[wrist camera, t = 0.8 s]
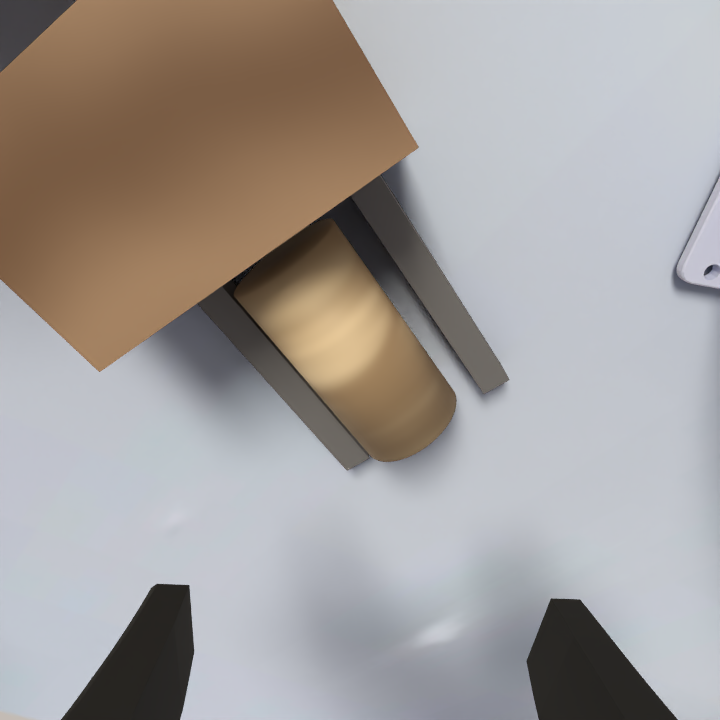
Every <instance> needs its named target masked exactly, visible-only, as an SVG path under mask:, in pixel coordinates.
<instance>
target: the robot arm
mask: <svg viewBox="0 0 720 720" xmlns="http://www.w3.org/2000/svg"><path fill="white" fill-rule="evenodd" d="M710 265H713V268H712V270H711V272H710V273H709V274H707V275H705V276H704V271H705V270H706V268H707V267H708V266H710ZM676 270H677V275H678V276H679V278H680V279H682V280H684V281H685V282H688V283H690V284H695V285H701V286H706V287H712V288H717V289H720V177H719V179H718V181H717V183H716V186H715V188H714V190H713V192H712V194H711V196H710V198H709V200H708V202H707V204H706V206H705V208H704V210H703V212H702V215H701V217H700V219H699V221H698V223H697V225H696V227H695V229H694V231H693V233H692V235H691V237H690V239H689V242H688V244H687V246H686V248H685V250H684V252H683V254H682V256H681V258H680V260H679V262H678V265H677V269H676ZM193 655H194V643H193V630H192V616H191V603H190V589H189V585H172V584H156V585H155V586H153V587H152V588H151V589H150V591H149V593H148V595H147V596H146V598H145V600H144V601H143V603H142V605H141V606H140V608H139V609H138V611H137V613H136V614H135V616H134V617H133V619H132V621H131V622H130V624H129V625H128V627H127V628H126V630H125V631H124V633H123V634H122V636H121V637H120V639H119V640H118V642H117V643H116V645H115V646H114V648H113V649H112V651H111V652H110V654H109V655H108V657H107V658H106V659H105V661H104V662H103V664H102V665H101V666H100V668H99V669H98V671H97V672H96V673H95V675H94V676H93V677H92V679H91V680H90V682H89V683H88V684H87V686H86V687H85V689H84V690H83V691H82V693H81V694H80V696H79V697H78V698H77V700H76V701H75V702H74V704H73V705H72V706H71V708H70V709H69V710H68V711H67V713H66V714H65V715H64V717H63V718H62V719H61V720H180V718H181V714H182V711H183V706H184V701H185V696H186V691H187V686H188V681H189V676H190V671H191V666H192V660H193ZM527 666H528V671H529V676H530V681H531V686H532V691H533V696H534V700H535V704H536V709H537V713H538V718H539V720H677V718H676V717H675V716H674V715H673V714H672V712H671V711H670V710H669V709H668V708H667V707H666V705H665V704H664V703H663V702H662V701H661V699H660V698H659V697H658V696H657V695H656V693H655V692H654V691H653V690H652V689H651V687H650V686H649V685H648V684H647V683H646V681H645V680H644V679H643V678H642V676H641V675H640V674H639V673H638V672H637V670H636V669H635V668H634V667H633V665H632V664H631V663H630V662H629V660H628V659H627V658H626V657H625V655H624V654H623V653H622V652H621V650H620V649H619V648H618V647H617V645H616V644H615V643H614V642H613V640H612V639H611V638H610V636H609V635H608V634H607V633H606V631H605V630H604V629H603V628H602V626H601V625H600V624H599V623H598V621H597V620H596V619H595V618H594V616H593V615H592V614H591V612H590V611H589V610H588V609H587V608H586V606H585V605H584V604H583V603H582V601H581V600H577V599H551V600H550V602H549V605H548V608H547V610H546V613H545V615H544V618H543V620H542V623H541V625H540V628H539V631H538V633H537V636H536V638H535V641H534V643H533V646H532V649H531V651H530V654H529V656H528V659H527Z"/></svg>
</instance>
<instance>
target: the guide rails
mask: <svg viewBox="0 0 720 720" xmlns="http://www.w3.org/2000/svg"><path fill="white" fill-rule="evenodd" d="M351 197H352V199H353V200H354V202H355V203H356V205H357V206H358V208H359V209H360V211H361V212H362V214H363V215H364V217H365V218H366V220H367V221H368V223H369V224H370V226H371V227H372V229H373V230H374V232H375V233H376V234H377V236H378V237H379V239H380V240H381V242H382V243H383V245H384V246H385V248H386V249H387V251H388V252H389V254H390V255H391V257H392V258H393V260H394V261H395V263H396V264H397V266H398V267H399V269H400V270H401V272H402V273H403V275H404V276H405V278H406V279H407V281H408V282H409V284H410V285H411V287H412V288H413V289H414V291H415V292H416V294H417V295H418V297H419V298H420V300H421V301H422V303H423V304H424V306H425V307H426V309H427V310H428V312H429V313H430V315H431V316H432V318H433V319H434V321H435V322H436V324H437V325H438V327H439V328H440V330H441V331H442V333H443V334H444V336H445V337H446V339H447V340H448V342H449V343H450V344H451V346H452V347H453V349H454V350H455V352H456V353H457V355H458V356H459V358H460V359H461V361H462V362H463V364H464V365H465V367H466V368H467V370H468V371H469V373H470V374H471V376H472V377H473V379H474V380H475V382H476V383H477V385H478V386H479V388H480V389H481V391H482V392H483V394H485V393H487V392H489V391H490V390H492V389H494V388H496V387H498V386H499V385H501V384H503V383H505V382H507V381H508V380H509V378H508V376H507V374H506V372H505V371H504V369H503V367H502V365H501V364H500V362H499V361H498V359H497V357H496V356H495V354H494V353H493V351H492V349H491V348H490V346H489V345H488V343H487V342H486V340H485V338H484V337H483V335H482V334H481V332H480V331H479V329H478V327H477V326H476V324H475V323H474V321H473V319H472V318H471V316H470V315H469V313H468V312H467V310H466V308H465V307H464V305H463V304H462V302H461V301H460V299H459V297H458V296H457V294H456V293H455V291H454V289H453V288H452V286H451V285H450V283H449V282H448V280H447V278H446V277H445V275H444V274H443V272H442V271H441V269H440V267H439V266H438V264H437V263H436V261H435V260H434V258H433V256H432V255H431V253H430V252H429V250H428V248H427V247H426V245H425V244H424V242H423V241H422V239H421V237H420V236H419V234H418V233H417V231H416V230H415V228H414V226H413V225H412V223H411V222H410V220H409V218H408V217H407V215H406V214H405V212H404V211H403V209H402V207H401V206H400V204H399V203H398V201H397V200H396V198H395V196H394V195H393V193H392V192H391V190H390V188H389V187H388V185H387V184H386V182H385V181H384V179H383V177H382V176H381V174H380V175H379V176H378V177H376V178H375V179H373V180H372V181H370V182H369V183H368V184H366V185H365V186H363V187H362V188H361V189H359V190H358V191H356V192H355V193H353V194H352V195H351ZM236 287H237V286H236V285H235V284H234V282H233V281H232V280H230V281H228V282H227V283H225V284H224V285H223V286H221V287H220V288H218V289H217V290H216V291H214V292H213V293H211V294H210V295H208V296H207V297H206V298H204V299H203V300H201V301H200V302H198V303H197V304H198V305H199V306H200V307H201V308H202V309H203V311H204V312H205V313H206V314H207V315H208V316H209V317H210V318H211V320H212V321H213V322H214V323H215V324H216V325H217V326H218V327H219V328H220V330H221V331H222V332H223V333H224V334H225V335H226V336H227V337H228V338H229V340H230V341H231V342H232V343H233V344H234V345H235V346H236V347H237V349H238V350H239V351H240V352H241V353H242V354H243V355H244V356H245V357H246V359H247V360H248V361H249V362H250V363H251V364H252V365H253V366H254V367H255V369H256V370H257V371H258V372H259V373H260V374H261V375H262V376H263V378H264V379H265V380H266V381H267V382H268V383H269V384H270V385H271V386H272V388H273V389H274V390H275V391H276V392H277V393H278V394H279V395H280V396H281V398H282V399H283V400H284V401H285V402H286V403H287V404H288V405H289V407H290V408H291V409H292V410H293V411H294V412H295V413H296V414H297V415H298V417H299V418H300V419H301V420H302V421H303V422H304V423H305V424H306V425H307V427H308V428H309V429H310V430H311V431H312V432H313V433H314V434H315V436H316V437H317V438H318V439H319V440H320V441H321V442H322V443H323V444H324V446H325V447H326V448H327V449H328V450H329V451H330V452H331V453H332V454H333V456H334V457H335V458H336V459H337V460H338V461H339V462H340V463H341V465H342V466H343V467H344V468H345V469H346V470H349V469H351V468H353V467H354V466H356V465H358V464H360V463H362V462H363V461H365V460H367V459H369V454H368V452H367V451H366V450H365V449H364V448H363V447H362V445H361V444H360V443H359V442H358V441H357V440H356V438H355V437H354V436H353V435H352V434H351V433H350V431H349V430H348V429H347V428H346V427H345V425H344V424H343V423H342V422H341V421H340V420H339V418H338V417H337V416H336V415H335V414H334V413H333V411H332V410H331V409H330V408H329V407H328V406H327V404H326V403H325V402H324V401H323V400H322V399H321V397H320V396H319V395H318V394H317V393H316V392H315V390H314V389H313V388H312V387H311V386H310V385H309V383H308V382H307V381H306V380H305V379H304V377H303V376H302V375H301V374H300V373H299V372H298V370H297V369H296V368H295V367H294V366H293V365H292V363H291V362H290V361H289V360H288V359H287V358H286V356H285V355H284V354H283V353H282V352H281V351H280V349H279V348H278V347H277V346H276V345H275V344H274V342H273V341H272V340H271V339H270V338H269V336H268V335H267V334H266V333H265V332H264V331H263V329H262V328H261V327H260V326H259V325H258V324H257V322H256V321H255V320H254V319H253V318H252V317H251V315H250V314H249V313H248V312H247V311H246V310H245V308H244V307H243V306H242V305H241V304H240V303H239V301H238V300H237V299H236V298H235V297H234V291H235V289H236Z"/></svg>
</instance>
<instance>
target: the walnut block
mask: <svg viewBox="0 0 720 720" xmlns="http://www.w3.org/2000/svg"><path fill="white" fill-rule="evenodd" d="M417 148H419V147H418V145H417V144H416V142H415V140H414V138H413V137H412V135H411V133H410V132H409V130H408V128H407V126H406V125H405V123H404V121H403V120H402V118H401V116H400V115H399V113H398V111H397V109H396V108H395V106H394V104H393V103H392V101H391V99H390V97H389V96H388V94H387V92H386V91H385V89H384V87H383V86H382V84H381V82H380V80H379V79H378V77H377V75H376V74H375V72H374V70H373V68H372V67H371V65H370V63H369V62H368V60H367V58H366V57H365V55H364V53H363V51H362V50H361V48H360V46H359V45H358V43H357V41H356V39H355V38H354V36H353V34H352V33H351V31H350V29H349V28H348V26H347V24H346V22H345V21H344V19H343V17H342V16H341V14H340V12H339V10H338V9H337V7H336V5H335V4H334V2H333V0H77V1H76V2H75V3H74V4H73V5H71V6H70V7H69V8H68V9H67V10H66V11H65V12H64V13H63V14H62V15H61V16H60V17H59V18H58V19H57V20H56V21H54V22H53V23H52V24H51V25H50V26H49V27H48V28H47V29H46V30H45V31H44V32H43V33H42V34H41V35H40V36H39V37H38V38H36V39H35V40H34V41H33V42H32V43H31V44H30V45H29V46H28V47H27V48H26V49H25V50H24V51H23V52H22V53H21V54H19V55H18V56H17V57H16V58H15V59H14V60H13V61H12V62H11V63H10V64H9V65H8V66H7V67H6V68H5V69H4V70H3V71H1V72H0V279H1V280H2V281H3V282H4V283H5V284H6V285H7V286H8V287H9V288H10V289H11V290H13V291H14V292H15V293H16V294H17V295H18V296H19V297H20V298H21V299H22V300H23V301H24V302H25V303H26V304H27V305H29V306H30V307H31V308H32V309H33V310H34V311H35V312H36V313H37V314H38V315H39V316H40V317H41V318H42V319H43V320H45V321H46V322H47V323H48V324H49V325H50V326H51V327H52V328H53V329H54V330H55V331H56V332H57V333H58V334H59V335H61V336H62V337H63V338H64V339H65V340H66V341H67V342H68V343H69V344H70V345H71V346H72V347H73V348H74V349H75V350H76V351H78V352H79V353H80V354H81V355H82V356H83V357H84V358H85V359H86V360H87V361H88V362H89V363H90V364H91V365H92V366H94V367H95V368H96V369H97V370H98V371H99V372H100V371H102V370H103V369H105V368H106V367H107V366H109V365H110V364H112V363H113V362H115V361H116V360H117V359H119V358H120V357H122V356H123V355H125V354H126V353H127V352H129V351H130V350H132V349H133V348H134V347H136V346H137V345H139V344H140V343H142V342H143V341H144V340H146V339H147V338H149V337H150V336H152V335H153V334H154V333H156V332H157V331H159V330H160V329H161V328H163V327H164V326H166V325H167V324H169V323H170V322H171V321H173V320H174V319H176V318H177V317H179V316H180V315H181V314H183V313H184V312H186V311H187V310H188V309H190V308H191V307H193V306H194V305H196V304H197V303H198V302H200V301H201V300H203V299H204V298H206V297H207V296H208V295H210V294H211V293H213V292H214V291H216V290H217V289H218V288H220V287H221V286H223V285H224V284H225V283H227V282H228V281H230V280H231V279H233V278H234V277H235V276H237V275H238V274H240V273H241V272H243V271H244V270H245V269H247V268H248V267H250V266H251V265H252V264H254V263H255V262H257V261H258V260H260V259H261V258H262V257H264V256H265V255H267V254H268V253H270V252H271V251H272V250H274V249H275V248H277V247H278V246H279V245H281V244H282V243H284V242H285V241H287V240H288V239H289V238H291V237H292V236H294V235H295V234H297V233H298V232H299V231H301V230H302V229H304V228H305V227H306V226H308V225H309V224H311V223H312V222H314V221H315V220H316V219H318V218H319V217H321V216H322V215H324V214H325V213H326V212H328V211H329V210H331V209H332V208H334V207H335V206H336V205H338V204H339V203H341V202H342V201H343V200H345V199H346V198H348V197H349V196H351V195H352V194H353V193H355V192H356V191H358V190H359V189H361V188H362V187H363V186H365V185H366V184H368V183H369V182H370V181H372V180H373V179H375V178H376V177H378V176H379V175H380V174H382V173H383V172H385V171H386V170H388V169H389V168H390V167H392V166H393V165H395V164H396V163H397V162H399V161H400V160H402V159H403V158H405V157H406V156H407V155H409V154H410V153H412V152H413V151H415V150H416V149H417Z"/></svg>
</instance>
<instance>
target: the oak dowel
mask: <svg viewBox="0 0 720 720" xmlns="http://www.w3.org/2000/svg"><path fill="white" fill-rule="evenodd" d="M234 297H235V298H236V299H237V300H238V301H239V303H240V304H241V305H242V306H243V307H244V308H245V310H246V311H247V312H248V313H249V314H250V315H251V317H252V318H253V319H254V320H255V321H256V322H257V324H258V325H259V326H260V327H261V328H262V329H263V331H264V332H265V333H266V334H267V335H268V336H269V338H270V339H271V340H272V341H273V342H274V344H275V345H276V346H277V347H278V348H279V349H280V351H281V352H282V353H283V354H284V355H285V356H286V358H287V359H288V360H289V361H290V362H291V363H292V365H293V366H294V367H295V368H296V369H297V370H298V372H299V373H300V374H301V375H302V376H303V377H304V379H305V380H306V381H307V382H308V383H309V385H310V386H311V387H312V388H313V389H314V390H315V392H316V393H317V394H318V395H319V396H320V397H321V399H322V400H323V401H324V402H325V403H326V404H327V406H328V407H329V408H330V409H331V410H332V411H333V413H334V414H335V415H336V416H337V417H338V418H339V420H340V421H341V422H342V423H343V424H344V425H345V427H346V428H347V429H348V430H349V431H350V433H351V434H352V435H353V436H354V437H355V438H356V440H357V441H358V442H359V443H360V444H361V445H362V447H363V448H364V449H365V450H366V451H367V452H368V454H369V455H370V456H371V457H372V458H374V459H376V460H378V461H383V462H391V461H397V460H401V459H404V458H407V457H409V456H412V455H414V454H416V453H417V452H419V451H421V450H422V449H424V448H425V447H427V446H428V445H429V444H431V443H432V442H433V441H434V440H435V439H436V438H437V437H438V436H439V435H440V434H441V433H442V432H443V431H444V429H445V428H446V427H447V425H448V424H449V422H450V421H451V419H452V417H453V414H454V412H455V408H456V395H455V392H454V391H453V389H452V388H451V386H450V385H449V384H448V382H447V381H446V379H445V378H444V376H443V375H442V374H441V372H440V371H439V369H438V368H437V367H436V365H435V364H434V362H433V361H432V359H431V358H430V357H429V355H428V354H427V352H426V351H425V349H424V348H423V347H422V345H421V344H420V342H419V341H418V340H417V338H416V337H415V335H414V334H413V332H412V331H411V330H410V328H409V327H408V325H407V324H406V322H405V321H404V320H403V318H402V317H401V315H400V314H399V312H398V311H397V310H396V308H395V307H394V305H393V304H392V303H391V301H390V300H389V298H388V297H387V295H386V294H385V293H384V291H383V290H382V288H381V287H380V285H379V284H378V283H377V281H376V280H375V278H374V277H373V276H372V274H371V273H370V271H369V270H368V268H367V267H366V266H365V264H364V263H363V261H362V260H361V258H360V257H359V256H358V254H357V253H356V251H355V250H354V249H353V247H352V246H351V244H350V243H349V241H348V240H347V239H346V237H345V236H344V234H343V233H342V231H341V230H340V229H339V227H338V226H337V224H336V223H335V221H334V220H333V219H331V218H328V219H324V220H321V221H319V222H316V223H314V224H312V225H310V226H308V227H307V228H305V229H303V230H302V231H300V232H299V233H298V234H296V235H295V236H293V237H292V238H290V239H289V240H288V241H286V242H285V243H283V244H282V245H280V246H279V247H278V248H276V249H275V250H273V251H272V252H271V253H269V254H268V255H267V256H266V257H265V258H264V259H262V260H261V261H260V262H259V263H258V264H257V265H256V266H255V267H254V268H253V269H252V270H251V271H250V272H249V273H248V274H247V275H246V276H245V277H244V278H243V279H242V281H241V282H240V283H239V284H238V286H237V287H236V289H235V291H234Z"/></svg>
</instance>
